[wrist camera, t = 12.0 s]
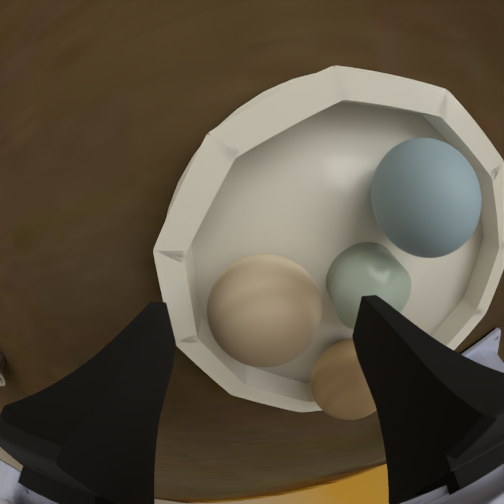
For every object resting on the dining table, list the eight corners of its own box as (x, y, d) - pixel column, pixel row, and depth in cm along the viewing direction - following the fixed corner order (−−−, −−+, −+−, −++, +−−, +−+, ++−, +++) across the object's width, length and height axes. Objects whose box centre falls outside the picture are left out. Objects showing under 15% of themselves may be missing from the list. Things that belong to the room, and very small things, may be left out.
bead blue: (447, 203, 11) (507, 242, 7) (375, 246, 12) (421, 303, 8) (420, 116, 10) (491, 128, 6) (336, 159, 11) (386, 187, 7)
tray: (493, 299, 15) (512, 319, 13) (279, 413, 19) (281, 441, 17) (429, 26, 8) (462, 16, 6) (93, 212, 12) (66, 234, 10)
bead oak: (392, 325, 14) (421, 387, 11) (357, 373, 17) (373, 431, 13) (323, 316, 14) (342, 388, 10) (294, 369, 16) (302, 434, 12)
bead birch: (323, 292, 13) (351, 359, 10) (244, 330, 14) (246, 402, 10) (281, 215, 12) (303, 271, 8) (191, 265, 13) (173, 334, 9)
